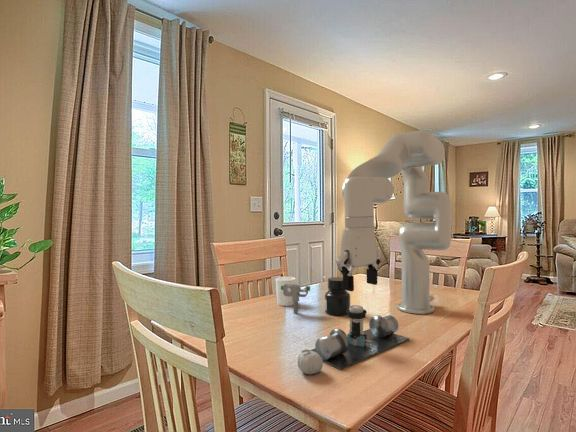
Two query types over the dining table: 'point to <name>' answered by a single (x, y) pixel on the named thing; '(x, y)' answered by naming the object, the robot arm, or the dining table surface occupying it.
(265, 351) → the dining table surface
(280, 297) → the white cup
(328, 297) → the ink bottle
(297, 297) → the mechanical component
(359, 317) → the push button
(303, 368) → the garlic
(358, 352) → the plate with silver knobs
